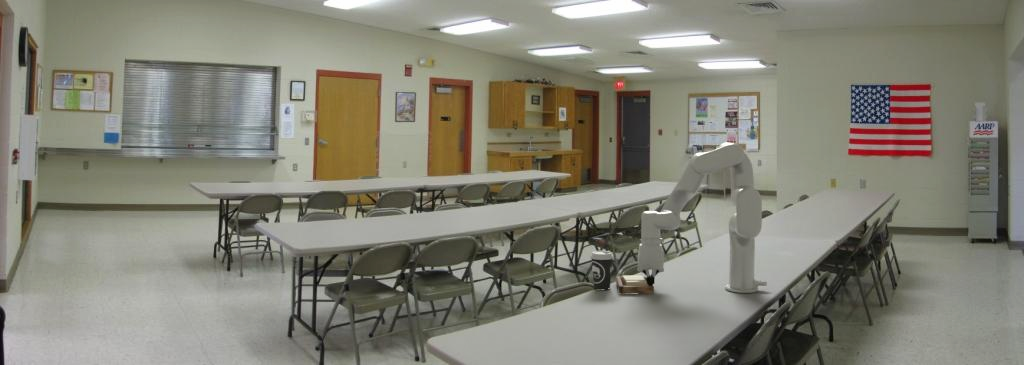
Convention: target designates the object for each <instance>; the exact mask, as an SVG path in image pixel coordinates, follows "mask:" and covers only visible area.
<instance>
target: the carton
mask: <svg viewBox="0 0 1024 365" xmlns="http://www.w3.org/2000/svg"><path fill="white" fill-rule="evenodd" d="M621 277H622V284H623V286H648V285H647V282H646V280H645V279H644V278H643V277H644V276H643V275H624V274H623V275H622V276H621Z"/></svg>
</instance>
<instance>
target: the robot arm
mask: <svg viewBox="0 0 1024 365" xmlns="http://www.w3.org/2000/svg"><path fill="white" fill-rule="evenodd" d="M728 168H729V171H730V202H731V203H732V205H733V206H734V207H736V208H735V209H736V212H735V213H733V214H732V215H731V217H730V218H729V221H728V232H729V233H728V234H729V271H728V276H729V277H728V278H729V281H728V283H727V284H726V285H724V289H725V290H726V291H729V292H733V293H736V294H737V293H739V294H753V293H756V292H758V291H759V287H760V286H761V287H767V285H768V282H767V281H766V280H761V279H759V280H757V279H756V278H755V265H756V264H755V259H756V258H755V256H756V252H755V251H756V242H755V240H756V237H758V236H759V235H760V234H761V232H762V226H763V225H762V224H763V217H762V216H763V206H762V205H763V203H762V202H763V201H762V196H761V194H760V191H758V190H757V189H756V188H755V185H754V182H755V181H754V169H753V168H754V167H753V164H752V162H751V159H750V157H749V156H748V155H747V153H746V152H745V150H744V148H743V146H742V145H740V144H738V143H735V142H723V143H720V145H718V147H717V148H716V149H713V150H709V151H707V152H706V151H705V152H697V153H695V154H693V155H692V156H691V158H690V160H689V161H688V163H687V165H686V167H685V168H684V170H683V172H682V174H681V176H680V178H679V180H678V182H677V183H676V185H675V187H673V189H672V191H671V192H670V194H669V196H668V198H666V200H665V203H664V204H663V206H662V208H661V209H660V211H656V210H645V211H643V212H642V213H641V222H640V223H641V234H640V235H641V237H640V238H641V243H639V246H638V249H637V250H638V251H637V269H636V270H637V272H639V273H643V274H644V275H645V277H647V284H648V285H647V286H654V285H655V278H656V276H657V275H658V274H659V273H663V272H665V268H664V266H665V264H664V252H663V251H664V250H663V244H662V243H664V242H665V239H664V238H661V230H666V231H676V230H677V229H678V228H680V226H681V224H682V219H681V217H680V214H681V212H682V210H683V209H684V207H685V206H686V204H687V203H688V202H689V201H690V200H692V199H693V198H694V197H695V196H696V195H697V193H698V191H699V190H700V188H701V186H702V184H703V183H704V181H705V179H706V177H707V175H711V174H714V173H718V172H720V171H723V170H725V169H728ZM650 270H651V274H650Z"/></svg>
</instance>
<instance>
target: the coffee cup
mask: <svg viewBox="0 0 1024 365" xmlns="http://www.w3.org/2000/svg"><path fill="white" fill-rule="evenodd" d="M589 258H590V259H591V268H592V279H593V280H592V282H593V289H594V290H597V289H608V288H611V282H612V281H611V280H612V279H611V278H612V266H613V259H614V255H613V253H612V251H607V250H595V251H592V252H591V254H590V257H589ZM597 291H598V290H597Z"/></svg>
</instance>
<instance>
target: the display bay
mask: <svg viewBox="0 0 1024 365" xmlns="http://www.w3.org/2000/svg"><path fill="white" fill-rule="evenodd" d="M642 277H643V278H644V279H645V280H646V282H647V276H642ZM615 279H616V282H615V283H616V287H617V286H618V287H617V291H618V290H619V291H618V293H621V294H620V295H624V294H623V293H638V294H637V295H655V288H654V287H655V286H654V285H653V286H648V285H647V286H623V284H622V276H618V275H617V276H615Z"/></svg>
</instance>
